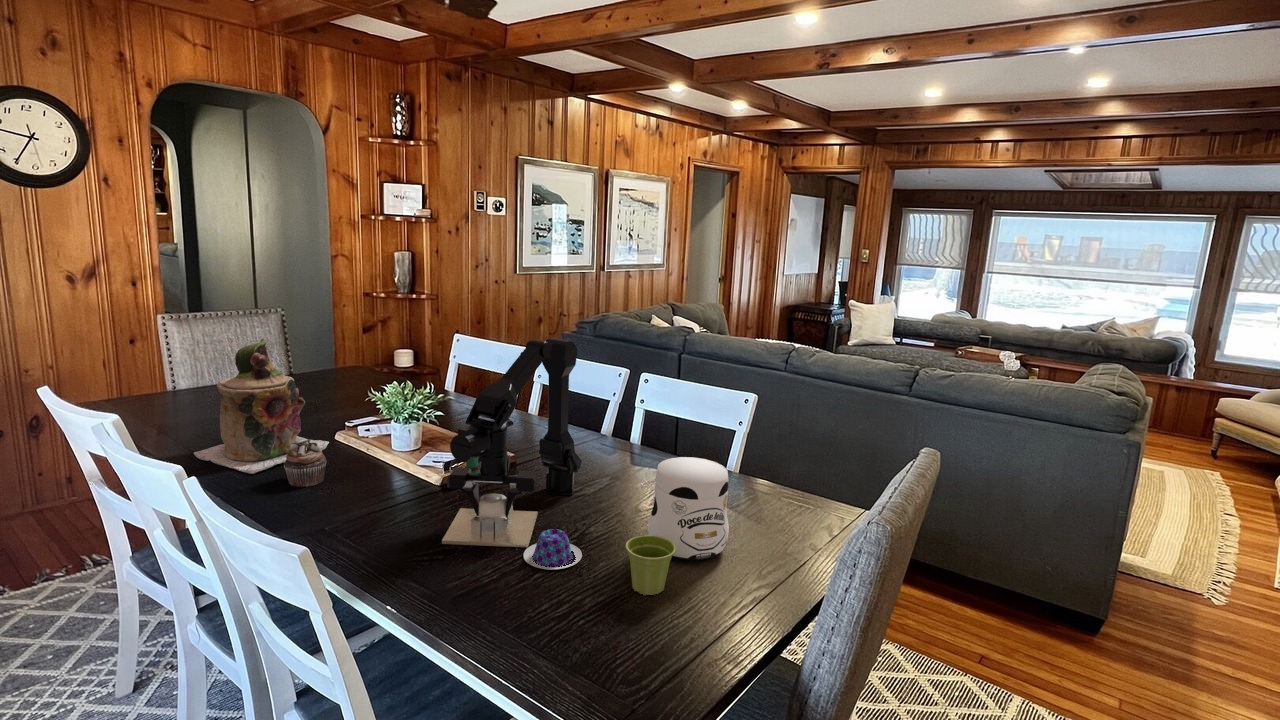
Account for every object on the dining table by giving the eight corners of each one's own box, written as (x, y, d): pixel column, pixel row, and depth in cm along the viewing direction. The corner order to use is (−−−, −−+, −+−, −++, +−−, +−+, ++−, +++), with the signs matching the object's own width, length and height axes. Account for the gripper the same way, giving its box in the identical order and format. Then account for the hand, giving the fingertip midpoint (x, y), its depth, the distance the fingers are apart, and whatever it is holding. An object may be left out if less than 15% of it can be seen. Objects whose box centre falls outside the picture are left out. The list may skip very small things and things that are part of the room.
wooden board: (537, 514, 156) (537, 498, 156) (527, 547, 141) (528, 529, 140) (460, 511, 156) (460, 495, 155) (441, 543, 140) (441, 526, 139)
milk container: (704, 576, 133) (711, 492, 130) (631, 550, 142) (636, 471, 138) (739, 544, 148) (746, 467, 144) (671, 522, 156) (676, 449, 153)
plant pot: (622, 575, 132) (624, 534, 130) (669, 575, 133) (672, 535, 131) (625, 601, 123) (627, 558, 121) (675, 601, 124) (678, 558, 122)
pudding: (545, 539, 146) (546, 516, 144) (592, 554, 140) (593, 531, 139) (511, 561, 135) (511, 538, 134) (560, 579, 130) (561, 554, 129)
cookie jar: (189, 459, 178) (179, 341, 172) (270, 434, 200) (264, 329, 194) (255, 476, 169) (247, 353, 163) (332, 448, 192) (328, 339, 185)
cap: (508, 514, 151) (508, 492, 150) (503, 526, 145) (504, 503, 144) (481, 513, 151) (482, 490, 150) (476, 525, 145) (476, 502, 144)
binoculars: (456, 434, 180) (491, 435, 178) (460, 472, 182) (494, 473, 180) (440, 445, 171) (476, 445, 169) (444, 484, 173) (480, 485, 171)
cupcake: (276, 482, 166) (273, 444, 164) (310, 470, 175) (309, 434, 172) (301, 491, 162) (299, 452, 160) (335, 479, 170) (334, 441, 168)
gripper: (541, 438, 153) (539, 502, 156) (459, 435, 152) (459, 499, 155) (534, 455, 142) (533, 523, 145) (446, 451, 141) (446, 520, 144)
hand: (492, 515), depth 148 cm, fingers closed on cap, 6 cm apart
